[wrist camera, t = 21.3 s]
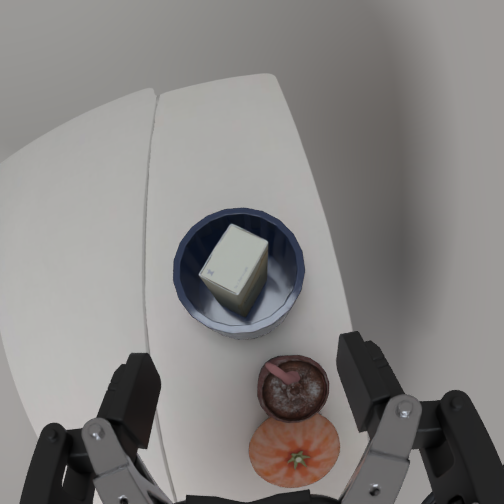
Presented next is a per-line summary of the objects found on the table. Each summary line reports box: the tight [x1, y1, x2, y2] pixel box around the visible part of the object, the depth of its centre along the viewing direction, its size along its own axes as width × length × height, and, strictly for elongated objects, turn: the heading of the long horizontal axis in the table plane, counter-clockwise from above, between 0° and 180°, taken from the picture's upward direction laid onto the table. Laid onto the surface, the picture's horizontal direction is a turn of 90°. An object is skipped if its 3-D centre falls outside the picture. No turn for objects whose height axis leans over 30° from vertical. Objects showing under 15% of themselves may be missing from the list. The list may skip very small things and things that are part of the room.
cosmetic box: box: [199, 224, 268, 317], centre depth 31 cm, size 6×4×12 cm
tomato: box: [249, 414, 340, 488], centre depth 26 cm, size 11×11×8 cm
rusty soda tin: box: [257, 355, 329, 423], centre depth 26 cm, size 6×6×14 cm
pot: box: [173, 208, 305, 340], centre depth 33 cm, size 14×14×10 cm
